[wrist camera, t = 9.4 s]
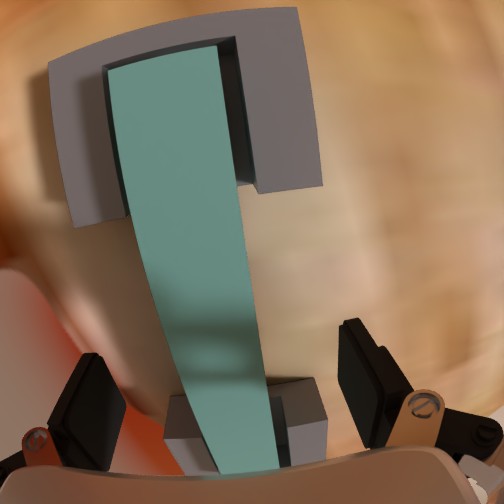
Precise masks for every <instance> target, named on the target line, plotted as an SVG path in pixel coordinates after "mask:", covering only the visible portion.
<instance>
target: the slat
mask: <svg viewBox="0 0 504 504" xmlns="http://www.w3.org/2000/svg"><path fill="white" fill-rule="evenodd" d="M108 78H109V87H110V96H111V105H112V112H113V120H114V126H115V133H116V140H117V146H118V152H119V157H120V163H121V169H122V174H123V179H124V184H125V189H126V194H127V199H128V203H129V208H130V212H131V217H132V221H133V226H134V230H135V234H136V238H137V242H138V246H139V250H140V254H141V258H142V261H143V265H144V269H145V272H146V276H147V280H148V283H149V286H150V290H151V293H152V297H153V300H154V303H155V307H156V310H157V313H158V316H159V319H160V322H161V326H162V329H163V332H164V335H165V338H166V341H167V344H168V346H169V349H170V352H171V355H172V358H173V361H174V363H175V366H176V369H177V372H178V374H179V377H180V380H181V382H182V385H183V388H184V390H185V393H186V395H187V398H188V400H189V403H190V405H191V408H192V410H193V413H194V415H195V417H196V420H197V422H198V425H199V427H200V429H201V431H202V434H203V436H204V438H205V441H206V443H207V445H208V447H209V449H210V452H211V454H212V456H213V458H214V460H215V462H216V464H217V467H218V469H219V471H220V473H221V474H234V473H245V472H254V471H263V470H270V469H277V468H280V467H279V460H278V454H277V448H276V441H275V435H274V429H273V422H272V416H271V410H270V403H269V397H268V390H267V384H266V377H265V371H264V364H263V358H262V351H261V345H260V338H259V332H258V325H257V319H256V312H255V306H254V299H253V292H252V286H251V279H250V272H249V266H248V259H247V252H246V246H245V239H244V232H243V225H242V219H241V212H240V205H239V198H238V192H237V185H236V178H235V171H234V164H233V157H232V150H231V144H230V137H229V130H228V123H227V116H226V109H225V102H224V95H223V88H222V81H221V74H220V66H219V59H218V52H217V46H211V47H204V48H198V49H193V50H187V51H182V52H177V53H173V54H168V55H163V56H159V57H155V58H151V59H147V60H143V61H139V62H135V63H132V64H128V65H125V66H121V67H118V68H115V69H112V70H108Z"/></svg>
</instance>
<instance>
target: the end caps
mask: <svg viewBox="0 0 504 504" xmlns="http://www.w3.org/2000/svg"><path fill="white" fill-rule="evenodd" d="M211 46H217V52H218V59H219V66H220V74H221V81H222V88H223V95H224V102H225V109H226V116H227V123H228V130H229V137H230V144H231V150H232V157H233V164H234V171H235V178H236V185H237V186H241V185H248V184H253V185H254V187H255V189H256V190H257V192H258V194H265V193H272V192H279V191H287V190H294V189H302V188H310V187H318V186H323V182H322V172H321V162H320V152H319V143H318V135H317V127H316V119H315V111H314V104H313V97H312V90H311V83H310V77H309V71H308V65H307V59H306V53H305V47H304V42H303V36H302V31H301V26H300V21H299V16H298V11H297V7H274V8H257V9H245V10H235V11H227V12H219V13H212V14H206V15H200V16H194V17H189V18H183V19H178V20H174V21H169V22H165V23H161V24H156V25H152V26H148V27H145V28H141V29H137V30H134V31H130V32H127V33H124V34H121V35H117V36H114V37H111V38H108V39H105V40H102V41H100V42H97V43H94V44H91V45H89V46H86V47H83V48H81V49H78V50H76V51H73V52H71V53H68V54H66V55H64V56H61V57H59V58H57V59H55V60H53V61H50V62H48V72H49V88H50V99H51V109H52V118H53V126H54V133H55V140H56V146H57V152H58V158H59V164H60V169H61V174H62V179H63V184H64V188H65V193H66V197H67V202H68V206H69V210H70V214H71V218H72V222H73V226H74V229H75V228H79V227H84V226H88V225H93V224H97V223H102V222H106V221H111V220H116V219H121V218H126V217H127V216H128V215H130V214H131V212H130V208H129V203H128V199H127V194H126V189H125V184H124V179H123V174H122V169H121V163H120V157H119V152H118V146H117V140H116V133H115V126H114V120H113V112H112V105H111V96H110V87H109V78H108V70H112V69H115V68H118V67H121V66H125V65H128V64H132V63H135V62H139V61H143V60H147V59H151V58H155V57H159V56H163V55H168V54H173V53H177V52H182V51H187V50H193V49H198V48H204V47H211ZM267 390H268V397H269V403H270V410H271V416H272V422H273V429H274V435H275V441H276V448H277V454H278V460H279V467H280V468H284V467H290V466H296V465H301V464H307V463H312V462H317V461H322V460H326V447H327V430H328V418H327V415H326V412H325V409H324V406H323V403H322V400H321V397H320V394H319V391H318V388H317V385H316V382H315V379H314V378H310V379H305V380H299V381H294V382H288V383H283V384H277V385H271V386H267ZM163 440H164V441H165V443H166V445H167V446H168V448H169V450H170V451H171V453H172V455H173V456H174V457H175V459H176V461H177V462H178V464H179V465H180V467H181V469H182V470H183V471H184V473H185V475H186V476H198V475H220V474H221V473H220V471H219V469H218V467H217V464H216V462H215V460H214V458H213V456H212V454H211V452H210V449H209V447H208V445H207V443H206V441H205V438H204V436H203V434H202V431H201V429H200V427H199V425H198V422H197V420H196V417H195V415H194V413H193V410H192V408H191V405H190V403H189V400H188V398H187V395H184V396H170V400H169V406H168V412H167V418H166V424H165V430H164V436H163Z"/></svg>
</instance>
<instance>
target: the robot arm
mask: <svg viewBox="0 0 504 504" xmlns="http://www.w3.org/2000/svg"><path fill="white" fill-rule="evenodd" d="M338 382H339V385H340V388H341V390H342V393H343V395H344V398H345V400H346V402H347V405H348V407H349V410H350V412H351V415H352V417H353V420H354V422H355V425H356V427H357V430H358V432H359V435H360V437H361V440H362V442H363V445H364V447H365V448H366V449H367V448H370V450H367V451H363V452H358V453H354V454H349V455H345V456H341V457H336V458H332V459H327V460H322V461H317V462H312V463H307V464H301V465H296V466H290V467H284V468H277V469H270V470H263V471H254V472H245V473H234V474H220V475H198V476H158V475H137V474H122V473H111V472H107V471H109V469H110V465H111V461H112V457H113V454H114V450H115V446H116V442H117V439H118V435H119V432H120V428H121V425H122V421H123V418H124V414H125V411H126V402H125V400H124V398H123V396H122V394H121V393H120V391H119V389H118V387H117V385H116V383H115V381H114V379H113V377H112V375H111V373H110V371H109V369H108V367H107V365H106V363H105V361H104V359H103V358H102V357H101V356H99V355H98V354H97V353H84V354H83V355H82V356H81V358H80V360H79V362H78V363H77V365H76V367H75V369H74V371H73V373H72V374H71V376H70V378H69V380H68V382H67V384H66V386H65V388H64V390H63V392H62V394H61V395H60V397H59V399H58V402H57V404H56V405H55V407H54V410H53V412H52V414H51V416H50V418H49V420H48V422H47V424H48V426H49V427H48V429H45V428H43V427H36V428H33V429H31V430H29V431H28V432H27V433H26V434H25V435H24V437H23V439H22V450H21V451H19V452H17V453H15V454H13V455H12V456H10V457H8V458H6V459H4V460H3V461H1V462H0V504H481V503H480V501H479V499H478V497H477V496H476V494H475V492H474V490H473V488H472V486H471V484H470V482H469V481H468V479H467V478H473V479H474V480H476V481H477V483H476V484H477V485H479V486H481V487H482V488H483V489H484V490H485V491H486V493H487V495H488V500H487V503H486V504H504V434H503V430H502V427H501V426H500V424H499V423H498V422H497V421H495V420H493V419H491V418H487V417H482V416H478V415H473V414H469V413H465V412H460V411H456V410H452V409H448V408H445V403H444V400H443V398H442V397H441V396H440V395H439V394H438V393H436V392H434V391H431V390H426V389H421V390H416V391H414V389H413V388H412V386H411V385H410V383H409V382H408V380H407V379H406V377H405V375H404V374H403V372H402V371H401V369H400V368H399V366H398V365H397V363H396V362H395V360H394V359H393V357H392V356H391V354H390V353H389V351H388V350H387V348H386V347H385V346H380V347H378V346H377V345H376V343H375V341H374V340H373V338H372V337H371V335H370V334H369V332H368V331H367V329H366V328H365V326H364V325H363V323H362V322H361V320H360V319H359V318H353V319H349V320H344V322H343V325H340V326H339V349H338Z"/></svg>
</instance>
